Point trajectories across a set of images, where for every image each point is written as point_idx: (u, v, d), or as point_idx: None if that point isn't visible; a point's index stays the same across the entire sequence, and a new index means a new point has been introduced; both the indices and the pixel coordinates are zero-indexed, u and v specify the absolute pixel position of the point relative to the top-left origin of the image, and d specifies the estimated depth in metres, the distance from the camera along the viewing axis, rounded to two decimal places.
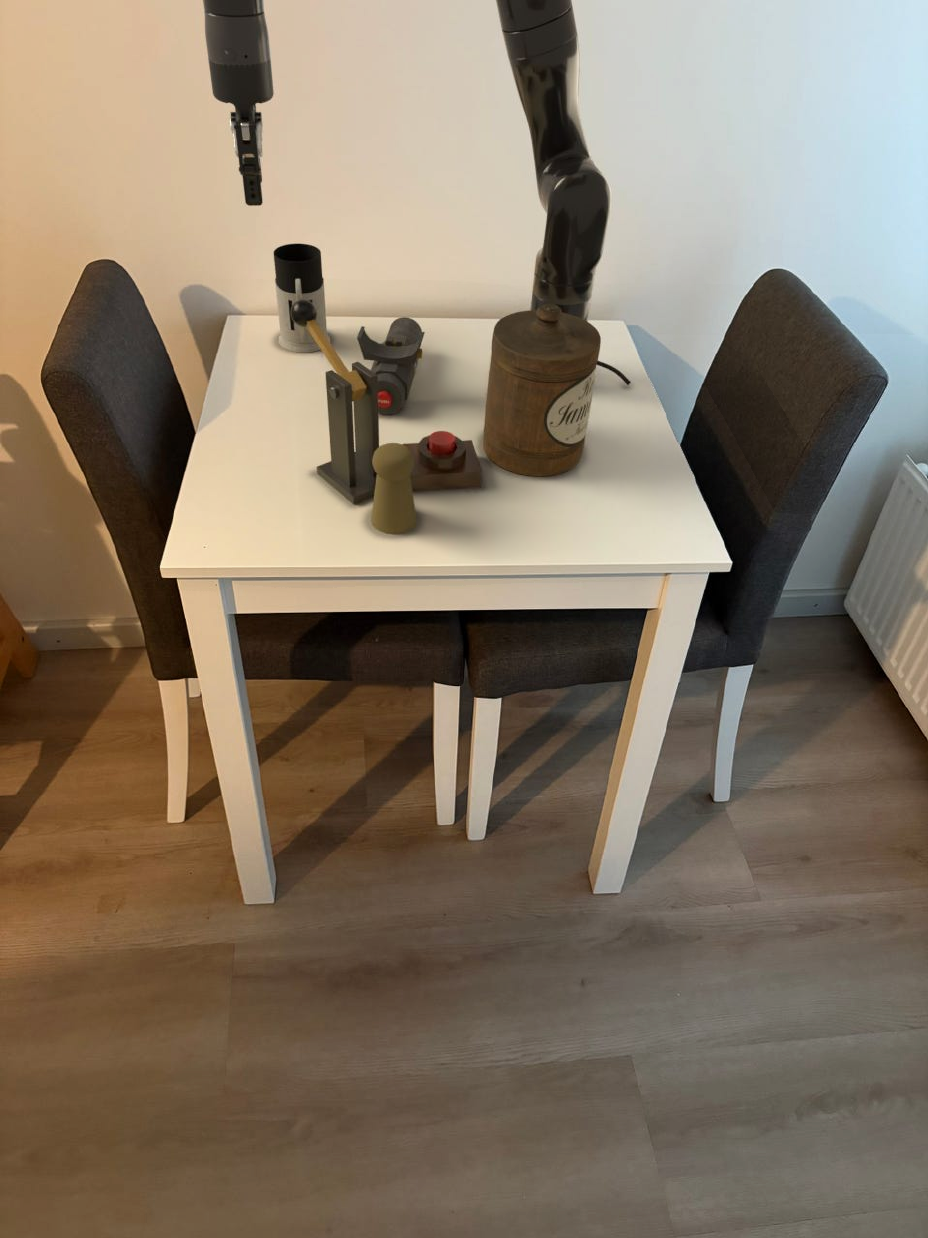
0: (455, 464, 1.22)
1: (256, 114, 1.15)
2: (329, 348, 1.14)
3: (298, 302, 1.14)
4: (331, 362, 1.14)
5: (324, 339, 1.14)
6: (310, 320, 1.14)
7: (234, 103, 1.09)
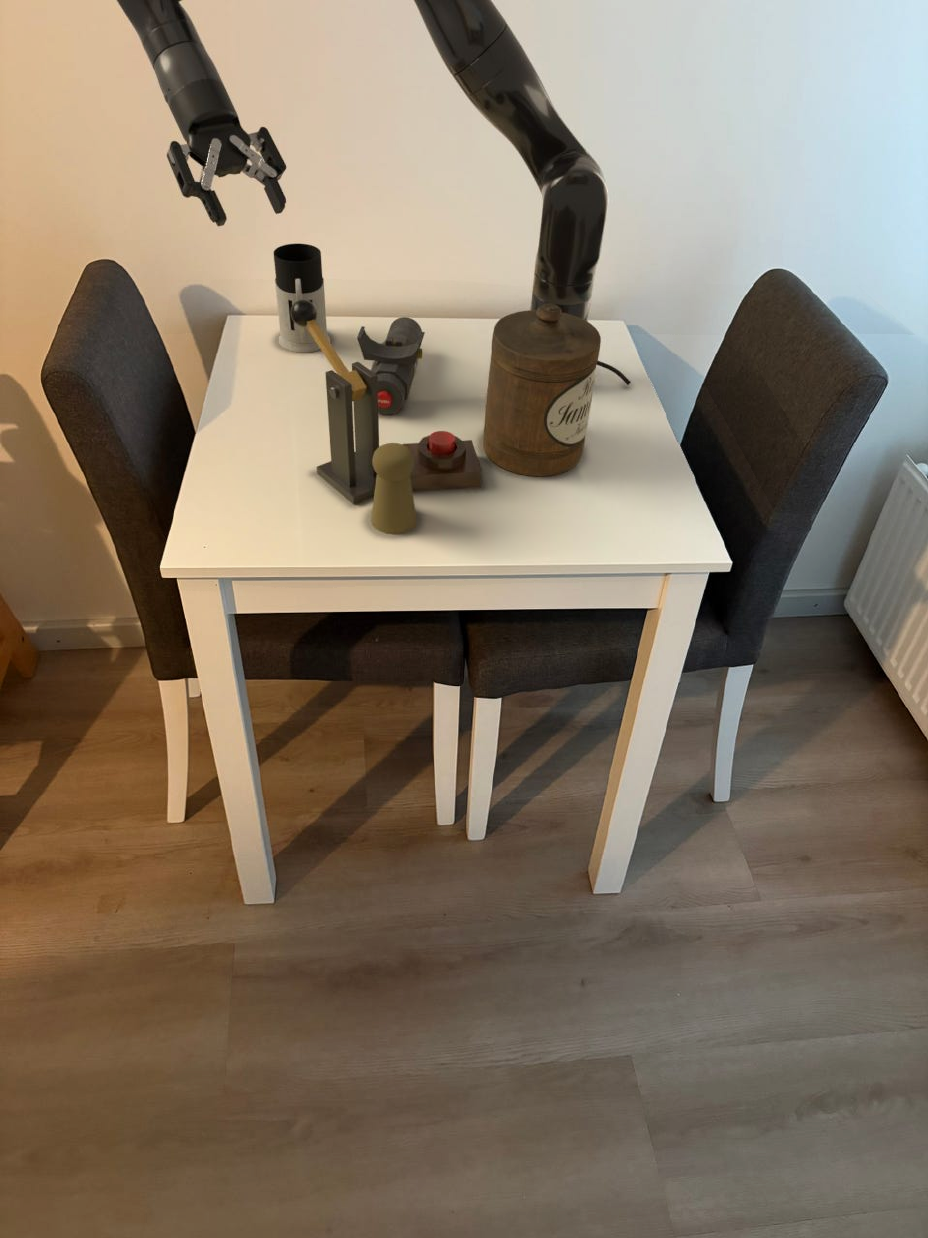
0: (455, 464, 1.22)
1: (228, 139, 1.13)
2: (329, 348, 1.14)
3: (298, 302, 1.14)
4: (331, 362, 1.14)
5: (324, 339, 1.14)
6: (310, 320, 1.14)
7: (184, 138, 1.13)
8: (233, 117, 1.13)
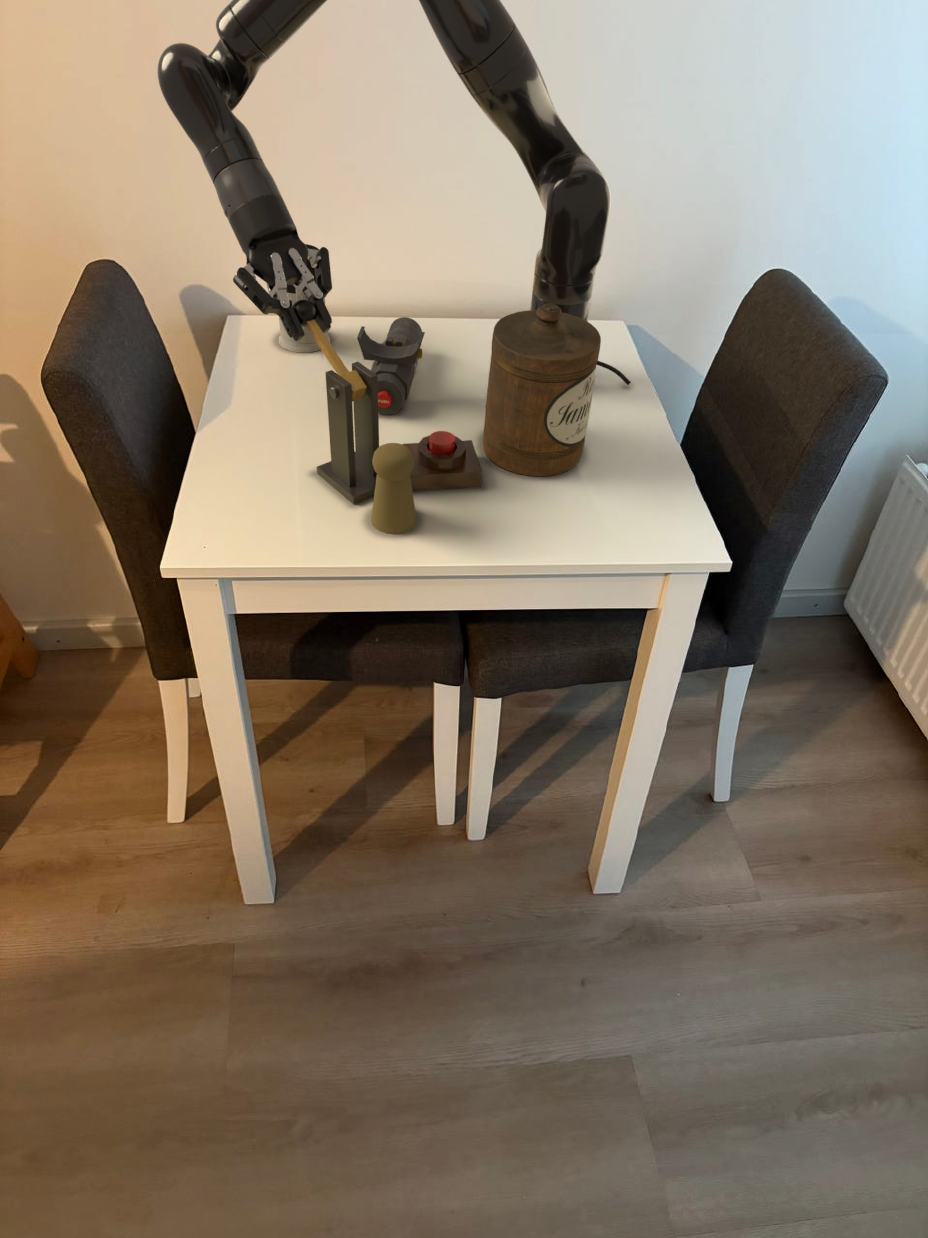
0: (455, 464, 1.22)
1: (287, 252, 1.14)
2: (329, 348, 1.14)
3: (298, 302, 1.14)
4: (331, 362, 1.14)
5: (324, 339, 1.14)
6: (310, 320, 1.14)
7: (243, 251, 1.13)
8: (292, 230, 1.13)
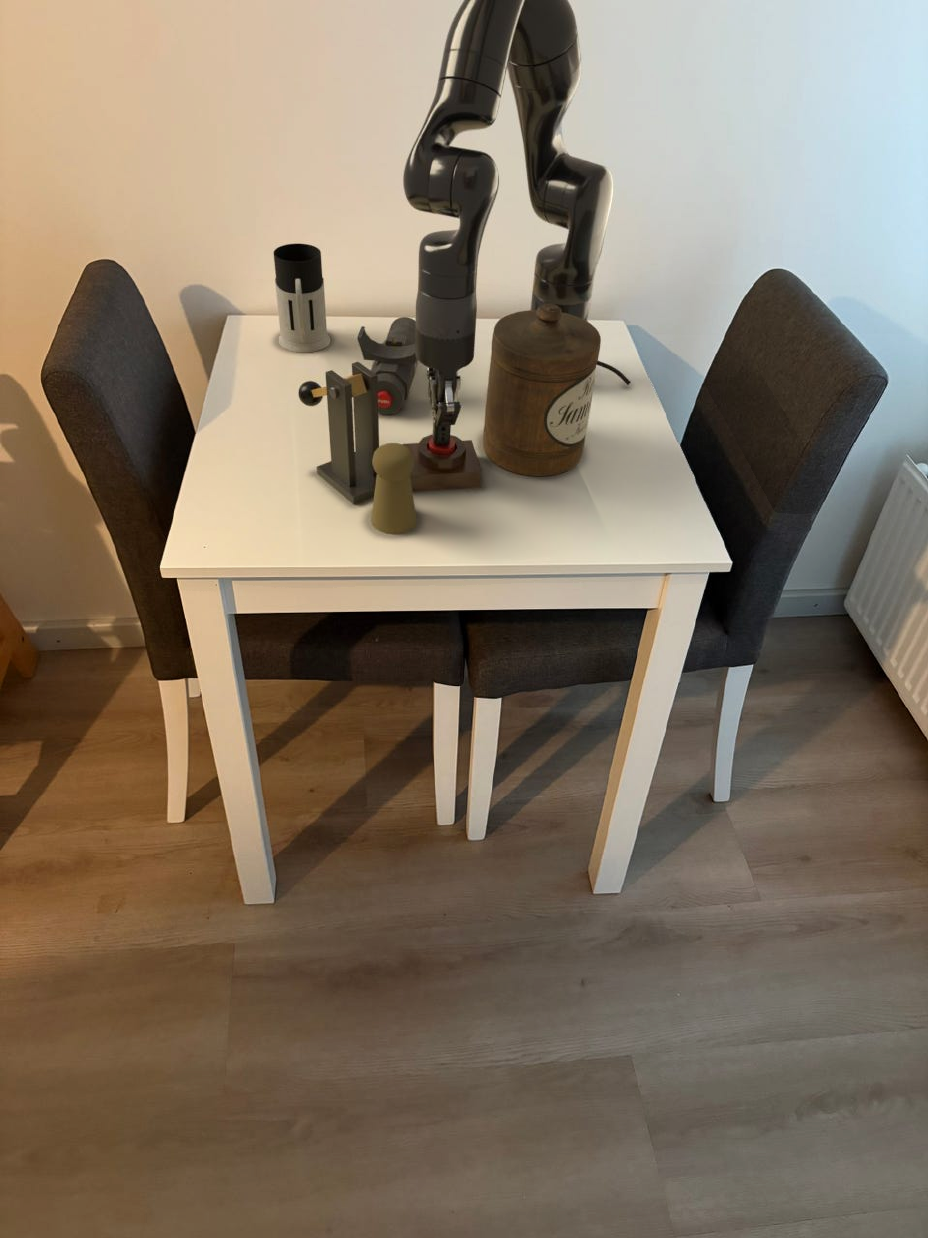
0: (455, 464, 1.22)
1: None
2: None
3: None
4: None
5: (325, 387, 1.19)
6: (313, 388, 1.22)
7: (440, 370, 1.11)
8: None
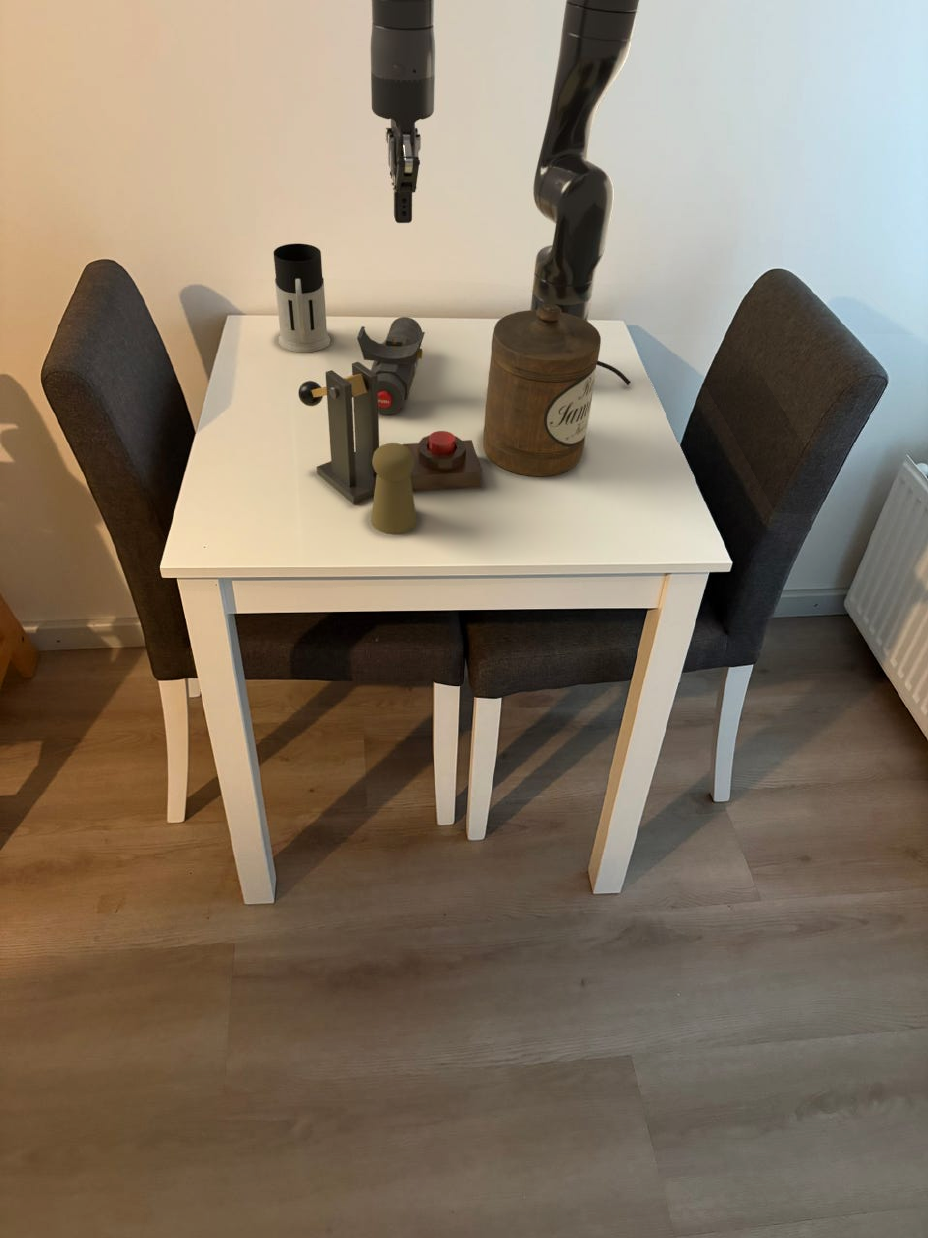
0: (455, 464, 1.22)
1: None
2: None
3: None
4: None
5: (325, 387, 1.19)
6: (313, 388, 1.22)
7: (397, 119, 1.05)
8: None
